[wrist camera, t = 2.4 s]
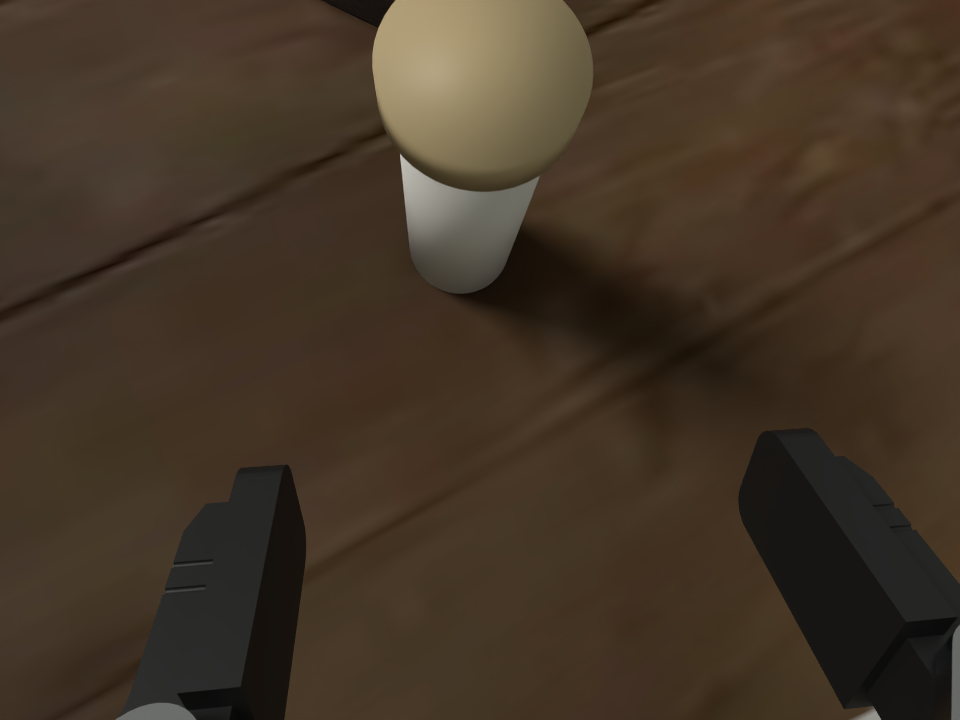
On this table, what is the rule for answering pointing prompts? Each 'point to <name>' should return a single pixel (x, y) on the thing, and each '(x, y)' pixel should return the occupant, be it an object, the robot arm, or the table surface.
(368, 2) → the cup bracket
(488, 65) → the white beige cylinder
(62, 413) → the table surface
